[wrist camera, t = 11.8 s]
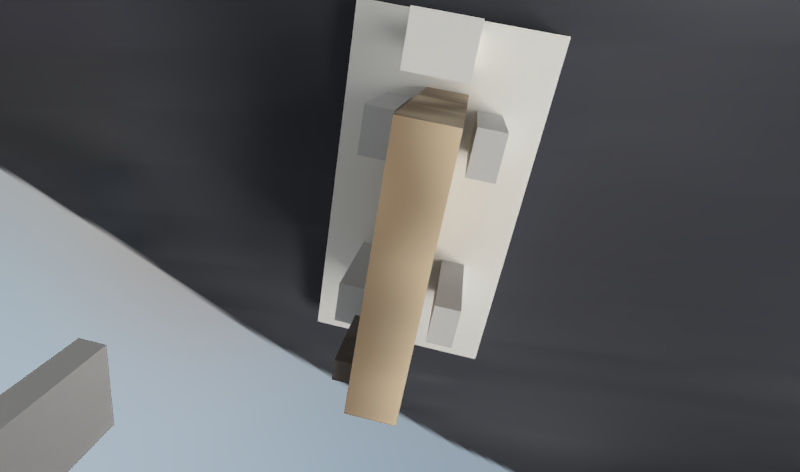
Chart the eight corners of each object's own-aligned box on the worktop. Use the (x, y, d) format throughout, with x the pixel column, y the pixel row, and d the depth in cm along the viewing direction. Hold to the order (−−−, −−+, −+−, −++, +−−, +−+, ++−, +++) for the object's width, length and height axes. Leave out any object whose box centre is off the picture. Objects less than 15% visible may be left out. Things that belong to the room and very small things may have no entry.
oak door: (469, 95, 27) (463, 128, 16) (423, 298, 33) (395, 426, 22) (410, 83, 27) (365, 108, 16) (375, 286, 33) (323, 408, 22)
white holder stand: (564, 37, 27) (644, 29, 14) (475, 343, 36) (474, 509, 23) (364, 0, 28) (268, -39, 15) (325, 307, 36) (244, 448, 24)
